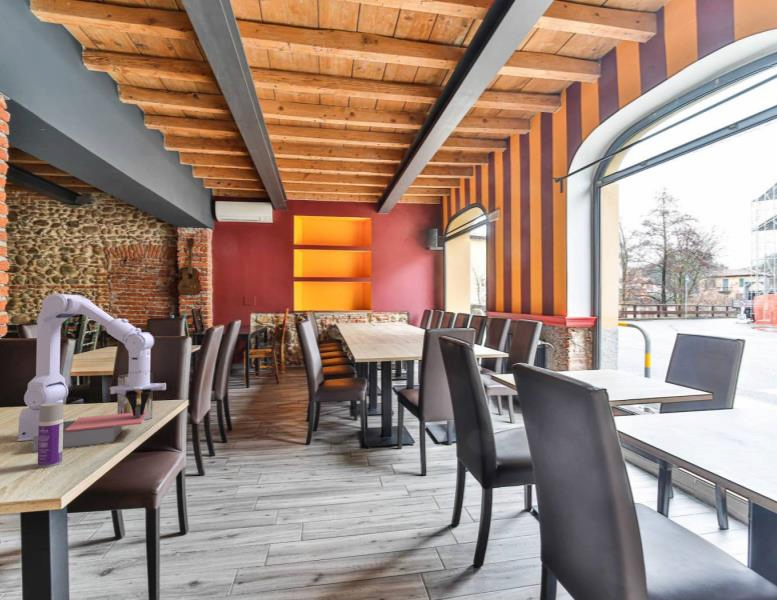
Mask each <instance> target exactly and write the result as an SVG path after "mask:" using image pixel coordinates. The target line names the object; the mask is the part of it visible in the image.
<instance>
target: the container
mask: <svg viewBox="0 0 777 600" xmlns="http://www.w3.org/2000/svg"><path fill="white" fill-rule="evenodd" d="M63 421H64V401H63V402H50V403H45V404H41V405H40V414H39V432H38V452H37V468H39V467H46V468H50V467H49V466H52V467H55V466H58V465H60V464H62V463H63V451H64V449H63ZM61 462H62V463H61ZM59 463H60V464H59ZM57 464H58V465H57ZM54 465H55V466H54Z"/></svg>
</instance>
